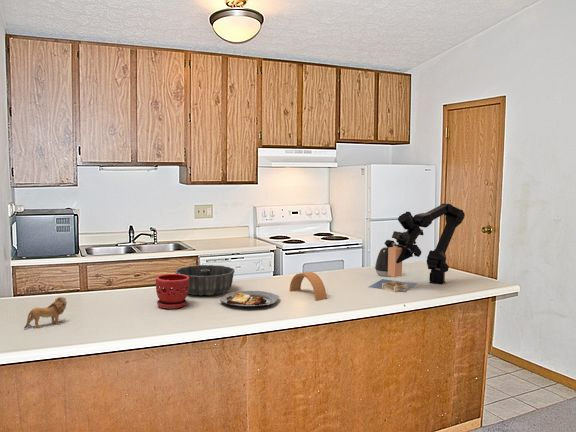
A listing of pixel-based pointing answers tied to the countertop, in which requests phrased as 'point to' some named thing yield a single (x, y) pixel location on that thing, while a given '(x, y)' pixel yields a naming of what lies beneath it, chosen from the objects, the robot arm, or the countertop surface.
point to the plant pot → (172, 290)
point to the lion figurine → (47, 312)
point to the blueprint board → (379, 283)
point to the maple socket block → (394, 286)
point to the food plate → (244, 298)
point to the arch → (315, 282)
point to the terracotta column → (394, 261)
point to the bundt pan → (207, 278)
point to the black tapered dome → (382, 262)
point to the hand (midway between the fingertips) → (393, 261)
